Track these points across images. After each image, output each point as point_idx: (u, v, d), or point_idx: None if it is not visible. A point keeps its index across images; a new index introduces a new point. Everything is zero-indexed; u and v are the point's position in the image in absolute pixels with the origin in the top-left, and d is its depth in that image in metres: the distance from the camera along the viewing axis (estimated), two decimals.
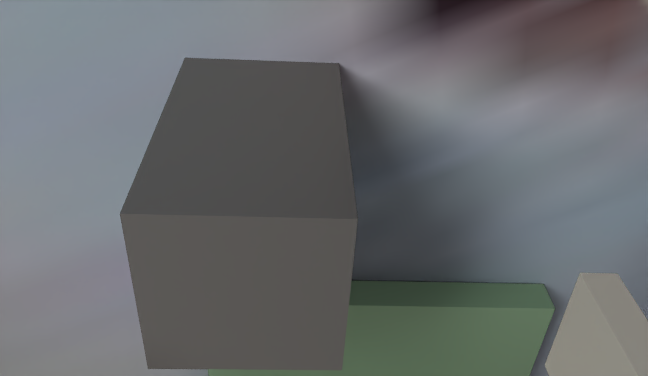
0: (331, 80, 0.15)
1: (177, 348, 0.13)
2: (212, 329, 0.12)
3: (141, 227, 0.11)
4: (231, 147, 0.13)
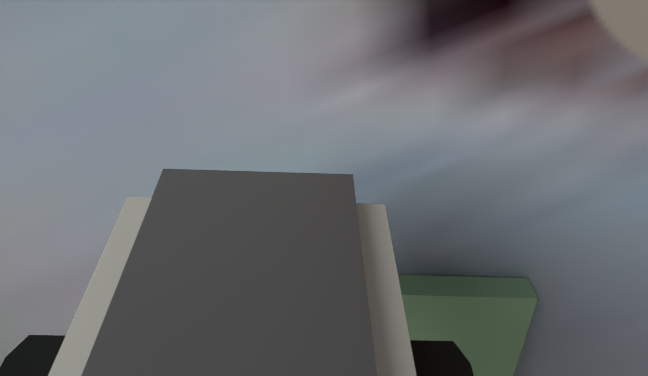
0: (344, 202, 0.12)
1: None
2: None
3: None
4: (213, 323, 0.09)
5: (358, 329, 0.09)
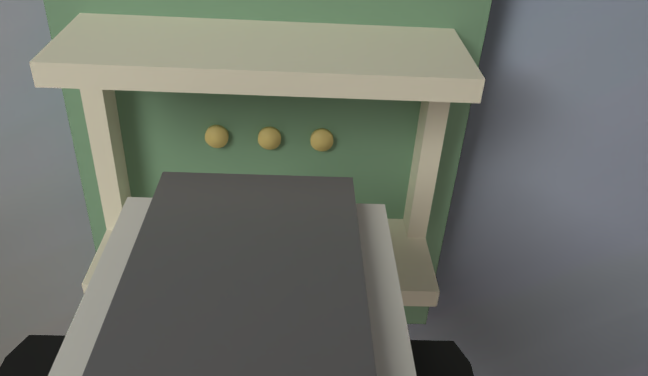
0: (344, 205, 0.12)
1: None
2: None
3: None
4: (212, 327, 0.09)
5: (358, 334, 0.09)
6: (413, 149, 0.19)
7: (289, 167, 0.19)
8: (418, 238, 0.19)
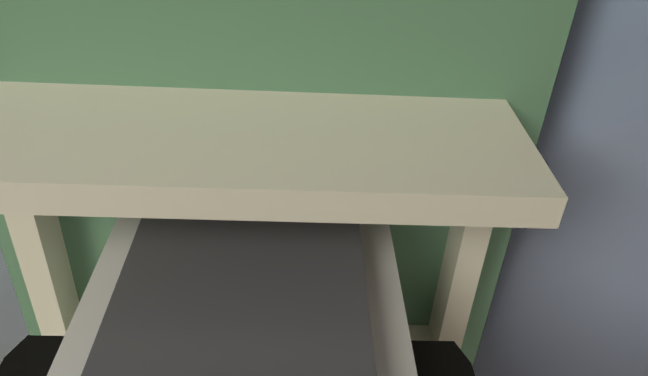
0: None
1: None
2: None
3: None
4: (209, 343, 0.09)
5: (360, 350, 0.09)
6: (445, 246, 0.14)
7: None
8: None
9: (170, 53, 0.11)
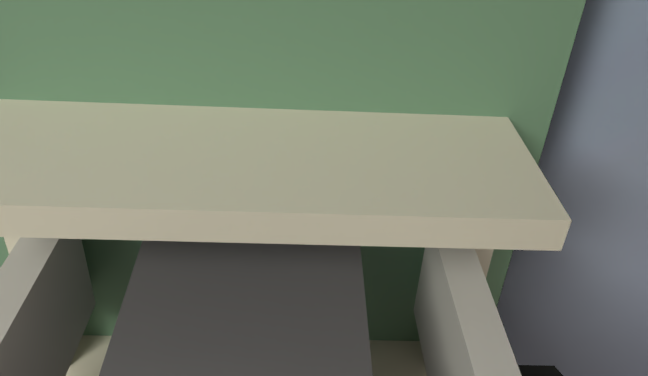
0: None
1: None
2: None
3: None
4: None
5: None
6: None
7: None
8: None
9: (170, 71, 0.11)
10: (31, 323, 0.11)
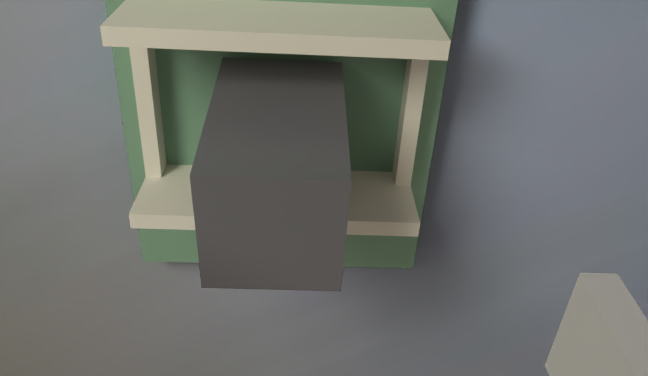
0: (336, 76, 0.20)
1: (223, 272, 0.18)
2: (248, 258, 0.17)
3: (203, 185, 0.16)
4: (262, 128, 0.17)
5: (340, 133, 0.17)
6: (399, 110, 0.23)
7: None
8: (404, 185, 0.23)
9: None
10: None
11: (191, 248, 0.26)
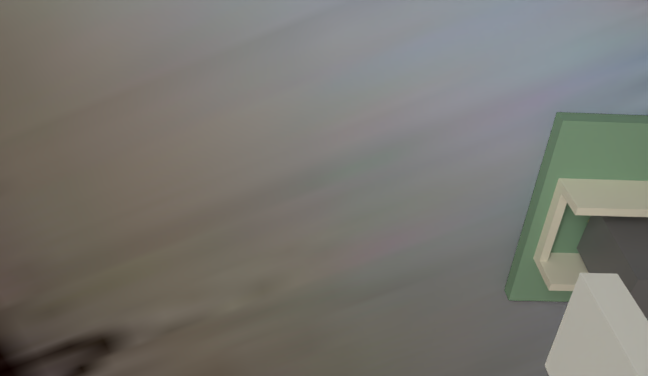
0: None
1: None
2: (642, 311, 0.38)
3: (641, 283, 0.37)
4: None
5: None
6: None
7: None
8: None
9: (611, 171, 0.41)
10: None
11: (538, 293, 0.47)
